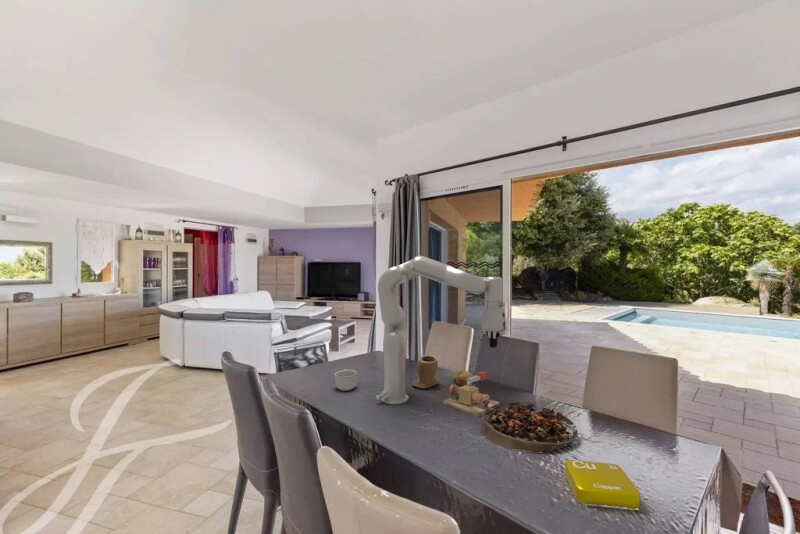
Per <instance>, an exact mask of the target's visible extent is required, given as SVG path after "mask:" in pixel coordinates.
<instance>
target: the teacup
mask: <svg viewBox="0 0 800 534" xmlns="http://www.w3.org/2000/svg"><path fill="white" fill-rule="evenodd" d="M334 382H335V387H336V388H337V389H338V390H339V391H343V392H347V391H351V390H353V389H354V388H355V387H356V386H357V384H358V372H357V371H356V370H355V369H346V368H345V369H343V370H338V371H336V372H335V373H334Z"/></svg>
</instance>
